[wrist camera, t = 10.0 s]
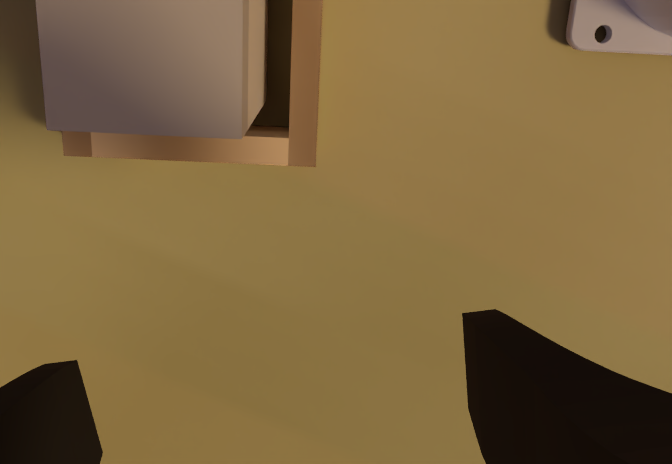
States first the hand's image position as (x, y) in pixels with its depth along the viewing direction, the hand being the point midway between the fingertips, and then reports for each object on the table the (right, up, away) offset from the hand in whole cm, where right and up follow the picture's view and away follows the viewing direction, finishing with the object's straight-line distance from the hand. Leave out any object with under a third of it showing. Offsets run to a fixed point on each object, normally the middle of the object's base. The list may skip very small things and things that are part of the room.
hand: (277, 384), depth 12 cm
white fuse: (-3, +9, +7) cm, 12 cm away
